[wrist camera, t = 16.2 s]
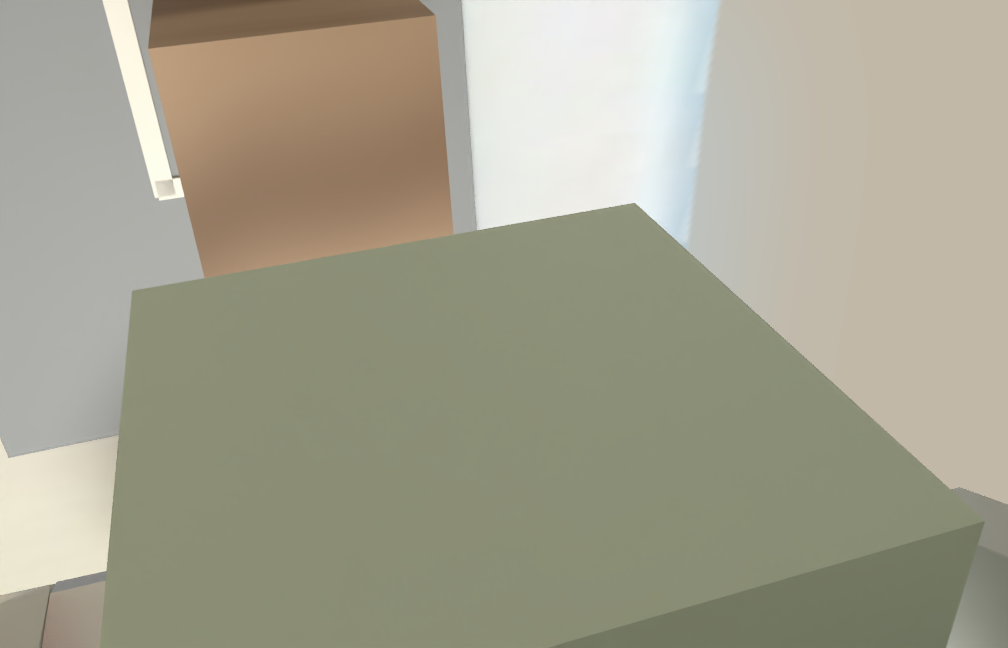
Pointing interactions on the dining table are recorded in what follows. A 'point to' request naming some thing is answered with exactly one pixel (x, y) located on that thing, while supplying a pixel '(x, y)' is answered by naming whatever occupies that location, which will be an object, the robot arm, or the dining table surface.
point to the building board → (109, 205)
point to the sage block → (509, 461)
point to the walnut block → (303, 126)
